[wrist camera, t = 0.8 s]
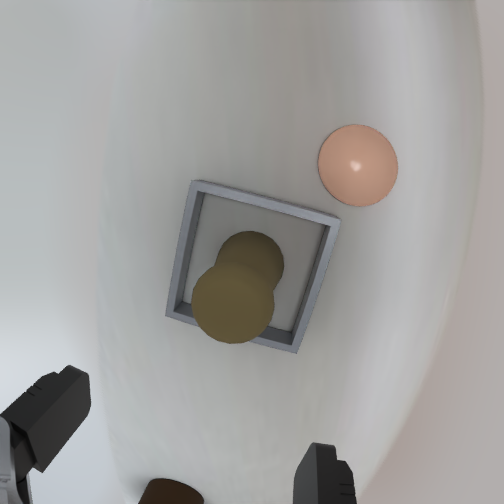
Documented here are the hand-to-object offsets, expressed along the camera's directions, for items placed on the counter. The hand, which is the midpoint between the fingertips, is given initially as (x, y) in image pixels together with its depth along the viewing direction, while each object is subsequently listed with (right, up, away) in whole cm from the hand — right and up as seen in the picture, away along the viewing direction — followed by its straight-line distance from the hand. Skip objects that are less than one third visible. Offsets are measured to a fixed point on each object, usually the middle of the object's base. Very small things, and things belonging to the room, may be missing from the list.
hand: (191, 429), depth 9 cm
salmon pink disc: (+11, +13, +16) cm, 24 cm away
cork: (+2, +5, +20) cm, 20 cm away
